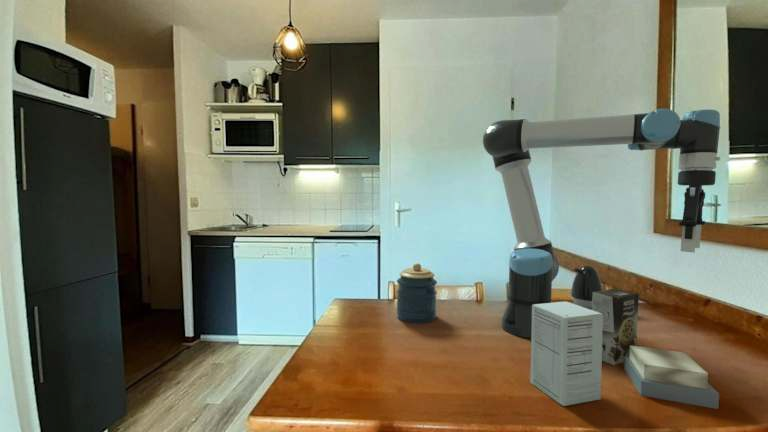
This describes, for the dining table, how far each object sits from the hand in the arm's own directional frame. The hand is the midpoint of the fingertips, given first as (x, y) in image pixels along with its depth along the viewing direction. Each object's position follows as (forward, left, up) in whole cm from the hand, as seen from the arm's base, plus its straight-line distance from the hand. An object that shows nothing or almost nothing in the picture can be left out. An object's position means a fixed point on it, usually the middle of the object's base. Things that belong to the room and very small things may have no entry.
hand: (690, 249), depth 95 cm
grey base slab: (-14, -30, -26) cm, 42 cm away
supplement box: (-34, -40, -26) cm, 58 cm away
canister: (-74, -8, -26) cm, 79 cm away
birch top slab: (-14, -30, -23) cm, 40 cm away
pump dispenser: (-20, +27, -26) cm, 42 cm away
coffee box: (-21, -18, -26) cm, 38 cm away
